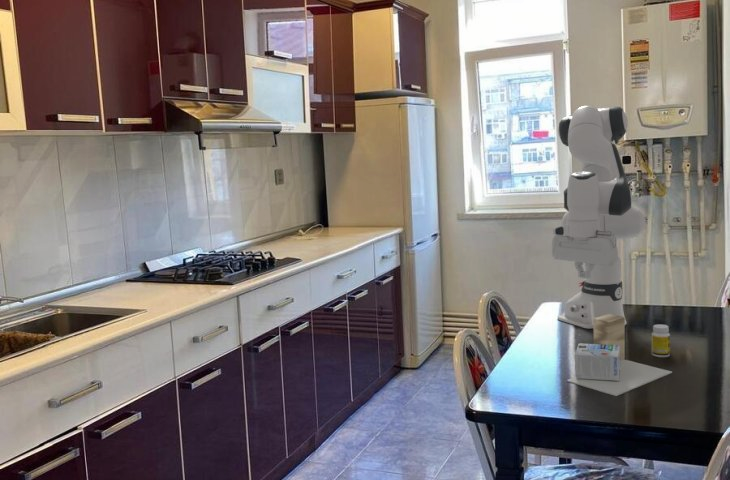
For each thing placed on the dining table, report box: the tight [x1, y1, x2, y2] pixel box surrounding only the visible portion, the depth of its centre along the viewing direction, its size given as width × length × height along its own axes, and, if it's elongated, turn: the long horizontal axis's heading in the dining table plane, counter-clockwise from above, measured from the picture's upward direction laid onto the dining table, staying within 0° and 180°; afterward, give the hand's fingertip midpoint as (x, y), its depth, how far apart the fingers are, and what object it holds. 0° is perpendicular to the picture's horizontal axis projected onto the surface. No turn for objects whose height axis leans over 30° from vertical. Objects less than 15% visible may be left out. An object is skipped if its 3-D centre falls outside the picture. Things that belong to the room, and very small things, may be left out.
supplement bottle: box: [651, 323, 671, 358], centre depth 190 cm, size 5×5×8 cm
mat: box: [566, 359, 673, 397], centre depth 176 cm, size 14×24×1 cm, turn 125°
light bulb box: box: [574, 342, 621, 381], centre depth 178 cm, size 11×7×11 cm
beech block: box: [593, 314, 626, 360], centre depth 189 cm, size 5×7×12 cm
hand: (584, 277), depth 193 cm, fingers closed
